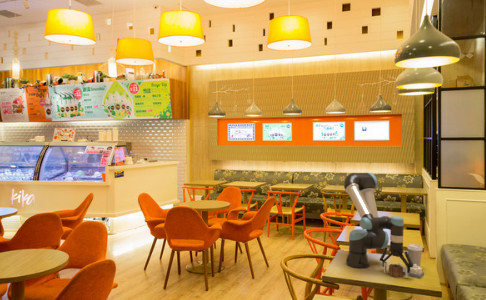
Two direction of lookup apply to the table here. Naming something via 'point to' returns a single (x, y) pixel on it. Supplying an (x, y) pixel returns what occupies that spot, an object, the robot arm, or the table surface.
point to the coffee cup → (415, 253)
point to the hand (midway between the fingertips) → (395, 275)
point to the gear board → (413, 271)
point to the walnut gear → (395, 270)
